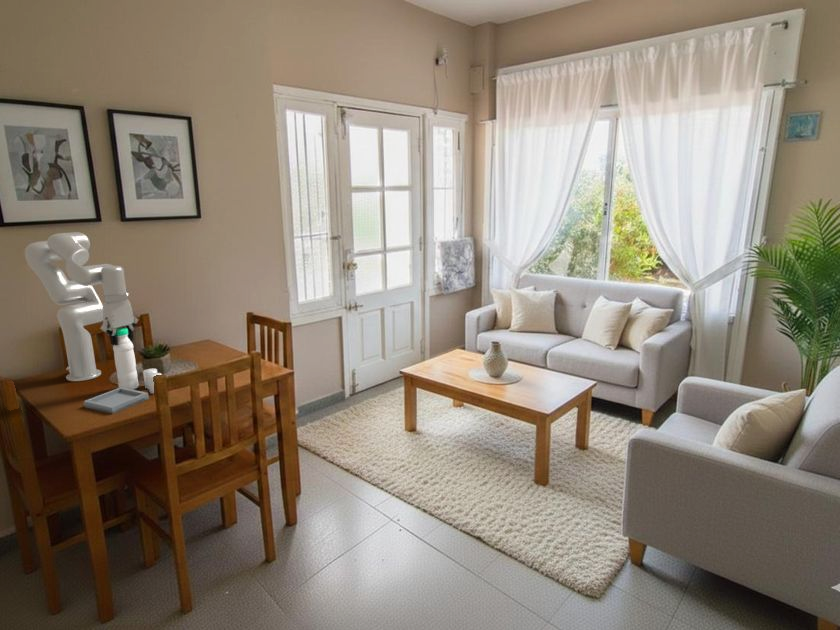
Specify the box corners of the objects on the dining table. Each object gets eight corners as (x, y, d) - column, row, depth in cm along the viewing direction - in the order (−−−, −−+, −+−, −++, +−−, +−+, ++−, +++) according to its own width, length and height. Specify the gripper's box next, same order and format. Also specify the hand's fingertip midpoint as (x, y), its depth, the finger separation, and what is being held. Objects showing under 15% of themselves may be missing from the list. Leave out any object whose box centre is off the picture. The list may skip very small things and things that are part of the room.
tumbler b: (142, 387, 208) (140, 371, 206) (153, 383, 212) (150, 367, 210) (151, 389, 206) (149, 373, 204) (161, 385, 210) (159, 369, 209)
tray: (84, 407, 189) (83, 401, 189) (121, 392, 203) (120, 387, 202) (112, 413, 183) (111, 407, 183) (148, 398, 197) (148, 392, 196)
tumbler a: (146, 392, 203) (144, 376, 201) (157, 388, 207) (155, 372, 206) (155, 394, 201) (153, 377, 199) (166, 390, 205) (164, 373, 204)
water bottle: (130, 392, 203) (121, 331, 197) (114, 390, 204) (105, 330, 199) (143, 385, 210) (135, 327, 204) (128, 384, 211) (119, 326, 205)
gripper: (129, 293, 207) (135, 335, 212) (88, 301, 192) (95, 347, 196) (142, 294, 205) (148, 337, 209) (101, 303, 189) (108, 349, 193)
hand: (122, 342), depth 202 cm, fingers open, 6 cm apart
